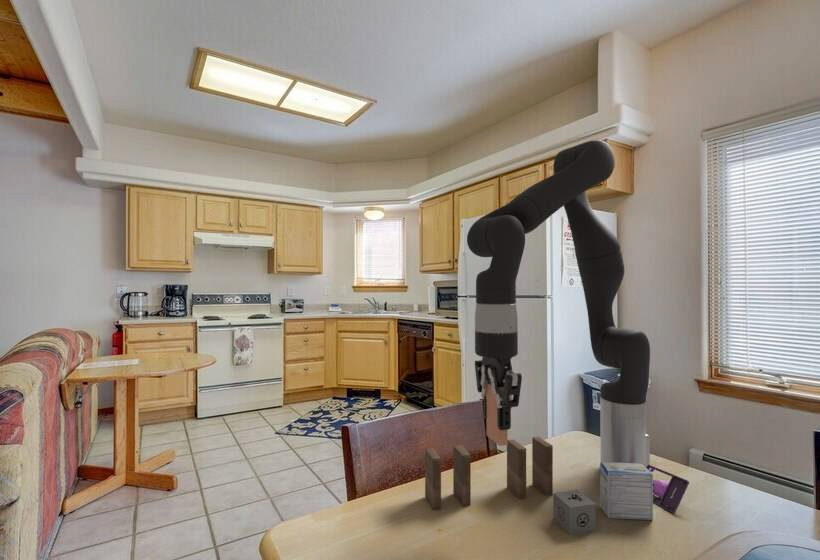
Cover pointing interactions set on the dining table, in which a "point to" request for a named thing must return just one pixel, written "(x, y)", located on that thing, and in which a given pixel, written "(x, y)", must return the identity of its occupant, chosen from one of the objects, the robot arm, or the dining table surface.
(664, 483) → the purple window box
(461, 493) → the domino
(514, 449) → the domino
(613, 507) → the medicine box
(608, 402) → the robot arm
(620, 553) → the dining table surface
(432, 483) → the domino
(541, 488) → the domino
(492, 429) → the domino
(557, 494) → the dice cube
